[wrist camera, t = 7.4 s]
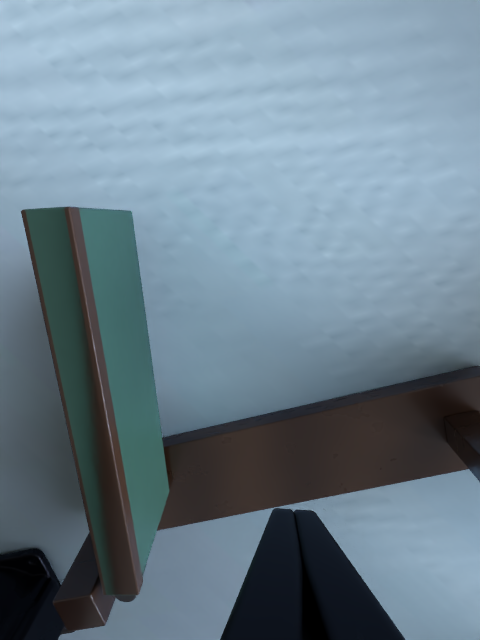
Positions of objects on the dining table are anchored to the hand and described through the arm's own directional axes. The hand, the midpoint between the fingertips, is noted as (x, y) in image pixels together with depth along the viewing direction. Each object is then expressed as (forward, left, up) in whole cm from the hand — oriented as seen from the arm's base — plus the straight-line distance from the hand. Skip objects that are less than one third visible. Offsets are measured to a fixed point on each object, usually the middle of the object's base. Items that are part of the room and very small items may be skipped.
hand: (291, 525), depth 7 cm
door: (-7, +1, -9) cm, 12 cm away
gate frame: (-1, -6, -11) cm, 12 cm away
